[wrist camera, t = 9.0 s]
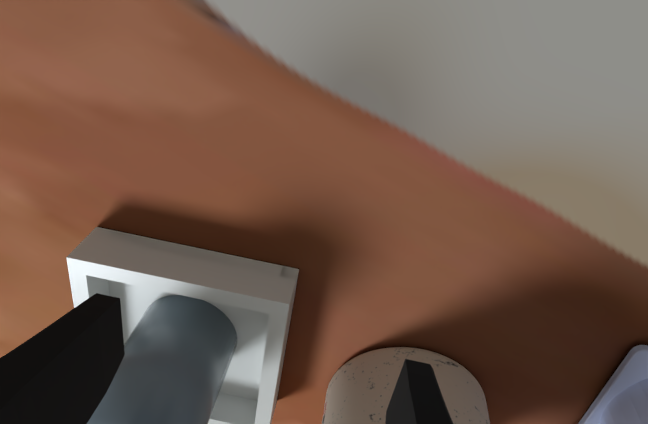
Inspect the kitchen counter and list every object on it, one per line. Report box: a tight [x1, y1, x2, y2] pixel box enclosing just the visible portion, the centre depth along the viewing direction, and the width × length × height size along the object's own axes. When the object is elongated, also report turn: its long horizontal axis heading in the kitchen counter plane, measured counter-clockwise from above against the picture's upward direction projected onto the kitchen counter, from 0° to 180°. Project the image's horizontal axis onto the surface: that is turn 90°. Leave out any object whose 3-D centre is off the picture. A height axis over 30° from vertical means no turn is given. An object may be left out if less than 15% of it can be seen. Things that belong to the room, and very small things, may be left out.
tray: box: [67, 227, 299, 424], centre depth 25 cm, size 10×10×2 cm
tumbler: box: [87, 295, 237, 424], centre depth 22 cm, size 5×5×7 cm
